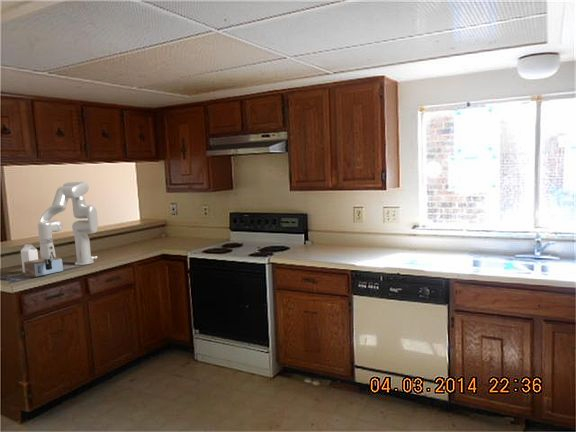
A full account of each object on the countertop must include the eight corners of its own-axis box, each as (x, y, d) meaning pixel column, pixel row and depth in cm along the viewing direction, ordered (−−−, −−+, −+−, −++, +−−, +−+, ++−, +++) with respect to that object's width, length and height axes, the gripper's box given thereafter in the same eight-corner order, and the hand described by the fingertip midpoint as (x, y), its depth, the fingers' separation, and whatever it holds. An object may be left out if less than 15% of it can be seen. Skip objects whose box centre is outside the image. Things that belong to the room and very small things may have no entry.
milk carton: (30, 273, 298) (27, 245, 296) (22, 272, 301) (19, 245, 299) (39, 271, 305) (36, 243, 303) (32, 270, 307) (29, 243, 306)
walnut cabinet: (52, 269, 307) (50, 256, 306) (62, 271, 300) (60, 258, 300) (25, 275, 292) (23, 262, 291) (35, 277, 285) (33, 263, 284)
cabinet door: (62, 270, 300) (60, 258, 299) (63, 270, 299) (62, 259, 298) (35, 276, 285) (34, 264, 284) (37, 276, 284) (35, 264, 283)
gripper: (58, 241, 284) (61, 269, 285) (45, 240, 292) (48, 267, 294) (46, 242, 277) (49, 271, 279) (34, 241, 286) (37, 269, 287)
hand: (49, 269), depth 286 cm, fingers closed
